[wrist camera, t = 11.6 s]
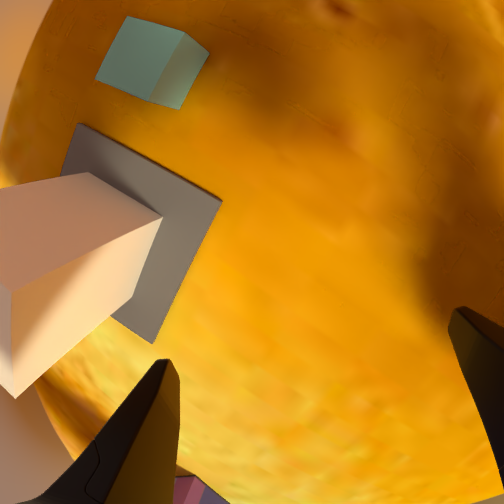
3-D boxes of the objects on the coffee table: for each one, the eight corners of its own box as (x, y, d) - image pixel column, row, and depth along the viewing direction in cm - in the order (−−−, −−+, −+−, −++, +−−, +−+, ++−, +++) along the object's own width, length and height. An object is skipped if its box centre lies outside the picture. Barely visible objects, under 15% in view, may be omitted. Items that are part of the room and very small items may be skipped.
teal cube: (210, 53, 16) (185, 32, 13) (179, 110, 18) (147, 101, 14) (159, 35, 16) (127, 15, 13) (131, 88, 18) (94, 79, 14)
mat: (222, 201, 19) (220, 202, 18) (154, 341, 23) (151, 344, 23) (81, 123, 19) (77, 122, 19) (43, 259, 23) (40, 261, 23)
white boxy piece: (163, 216, 19) (11, 293, 8) (131, 297, 22) (15, 398, 10) (88, 172, 20) (-64, 205, 8) (66, 250, 22) (-57, 315, 11)
